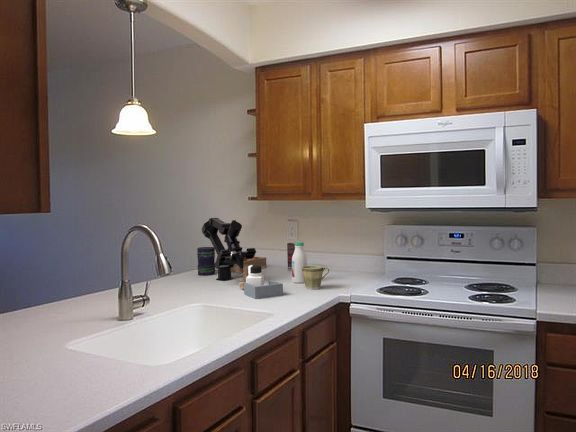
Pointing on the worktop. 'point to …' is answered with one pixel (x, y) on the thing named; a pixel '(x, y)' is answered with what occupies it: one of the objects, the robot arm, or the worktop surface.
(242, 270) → the wooden box
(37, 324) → the worktop surface
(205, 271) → the storage jar
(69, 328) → the worktop surface
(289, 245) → the supplement box
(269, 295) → the grey angular block
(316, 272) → the ceramic cup
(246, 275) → the tan wooden stepped block
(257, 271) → the medicine bottle
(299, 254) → the milk bottle
